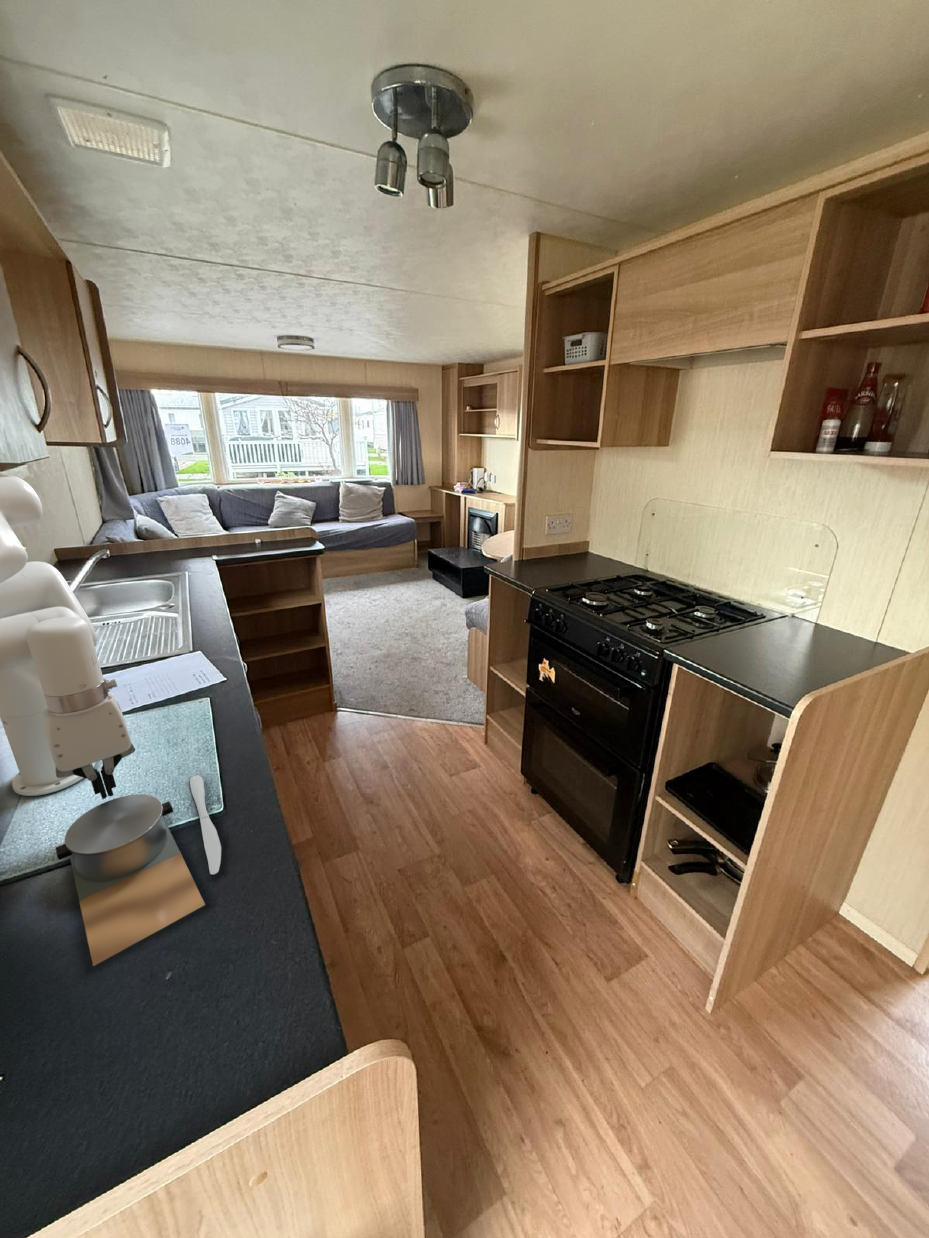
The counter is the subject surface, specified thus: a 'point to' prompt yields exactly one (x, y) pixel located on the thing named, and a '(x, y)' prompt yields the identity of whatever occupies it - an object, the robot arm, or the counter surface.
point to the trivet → (138, 907)
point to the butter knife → (206, 826)
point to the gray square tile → (90, 887)
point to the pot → (116, 837)
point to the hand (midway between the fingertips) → (106, 793)
